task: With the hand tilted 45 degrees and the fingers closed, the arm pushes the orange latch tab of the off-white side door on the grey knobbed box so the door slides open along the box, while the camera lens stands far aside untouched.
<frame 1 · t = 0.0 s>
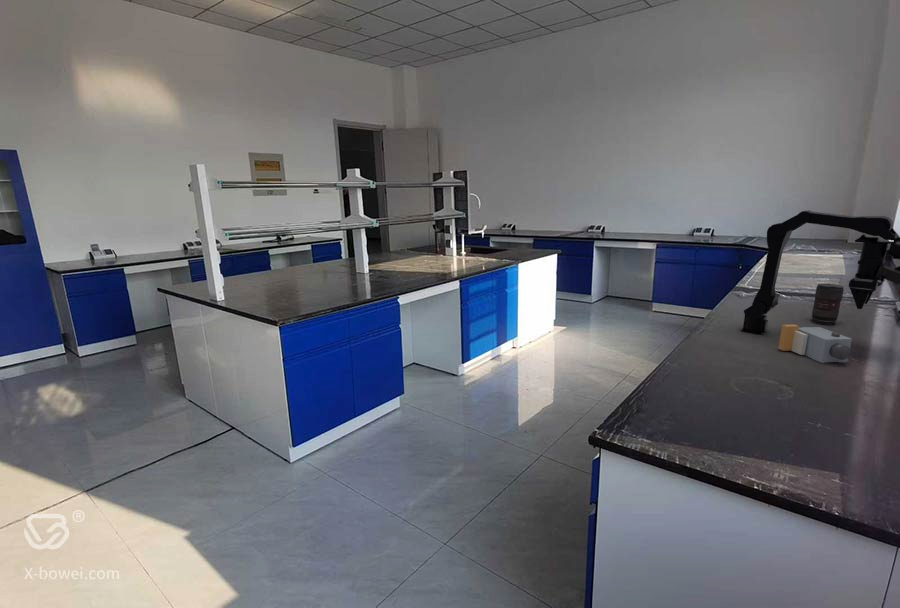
hand: (862, 306, 144), 15 cm above the table, tool pointing down, fingers open, 9 cm apart
camera lens: (823, 323, 176), on the table
grey knobbed box: (818, 355, 143), on the table
side door: (793, 339, 145), point 4 cm above the table, slide at 0.0 cm
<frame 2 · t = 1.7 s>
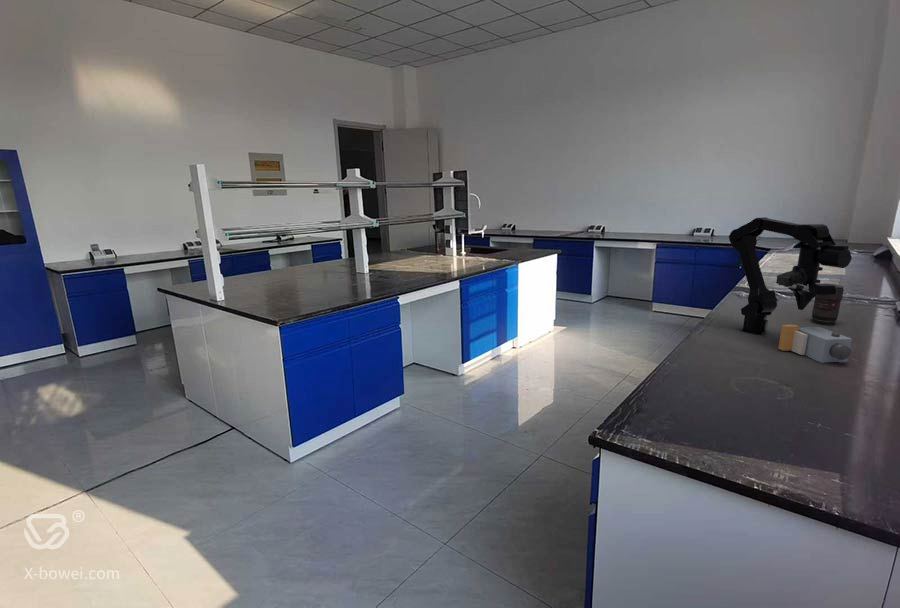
hand: (800, 309, 151), 12 cm above the table, tool pointing down, fingers closed
nothing on the table moved.
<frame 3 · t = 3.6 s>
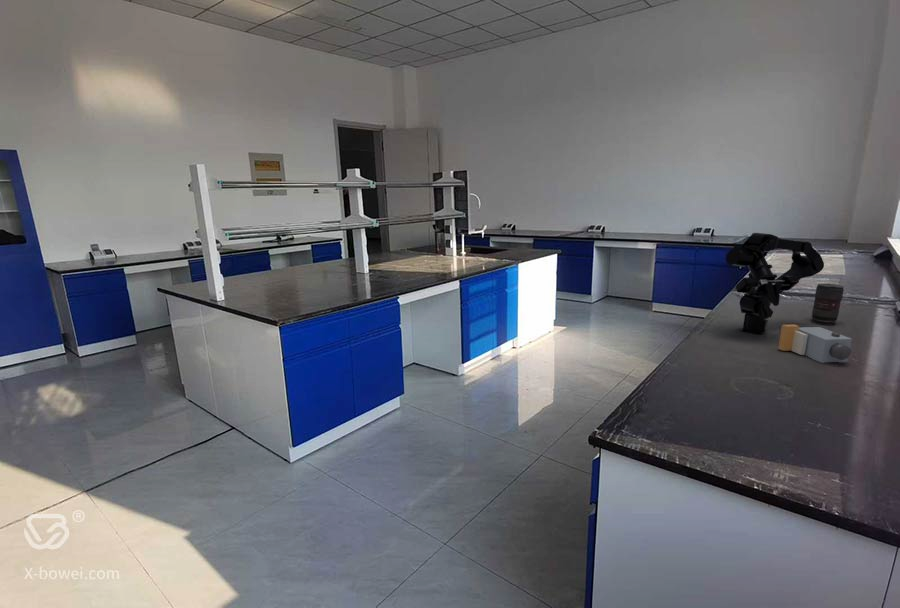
hand: (776, 305, 152), 14 cm above the table, tool tilted 45°, fingers closed
nothing on the table moved.
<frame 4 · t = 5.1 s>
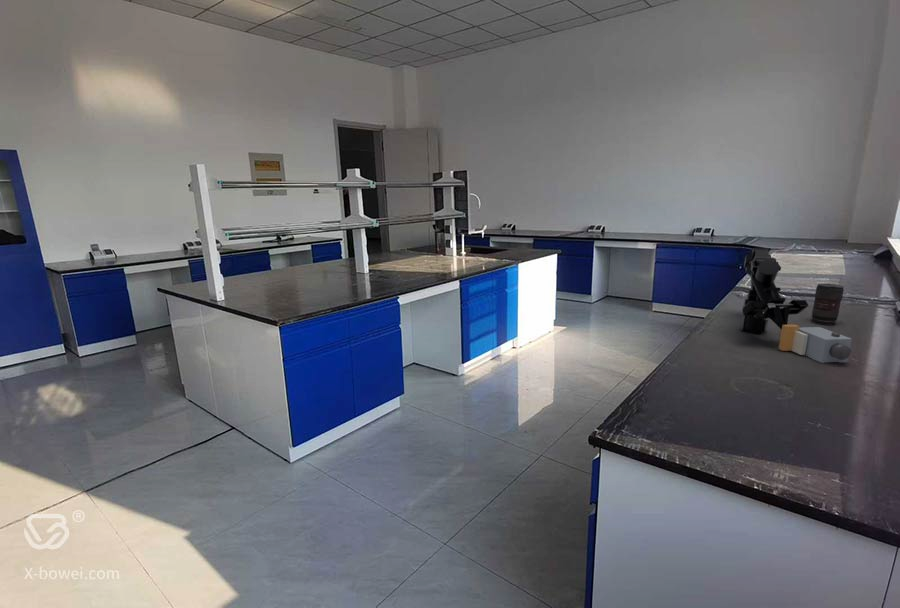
hand: (784, 330, 148), 7 cm above the table, tool tilted 45°, fingers closed, pressing on side door
side door: (793, 339, 145), point 4 cm above the table, slide at 0.1 cm, touching gripper
everything else where it was.
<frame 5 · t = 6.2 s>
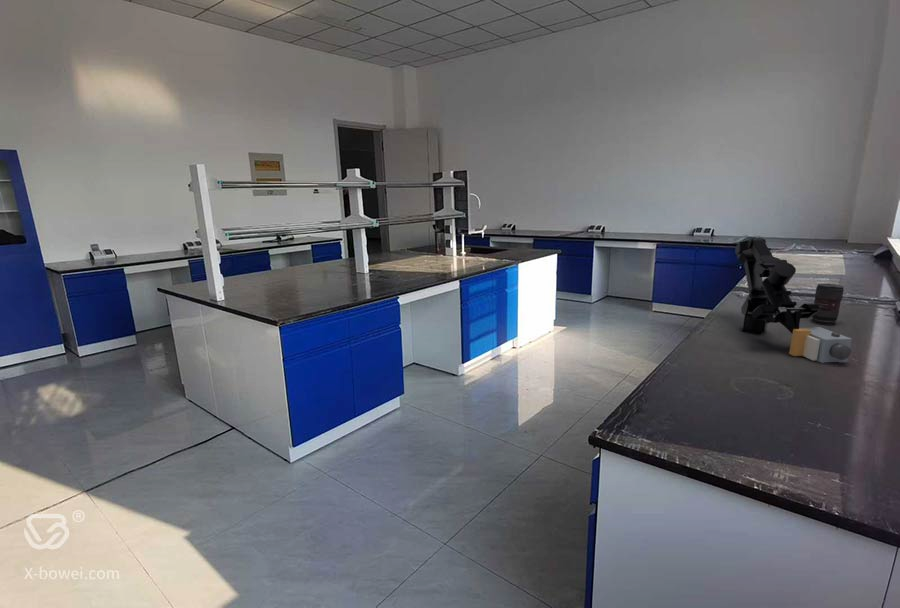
hand: (796, 334, 143), 7 cm above the table, tool tilted 45°, fingers closed, pressing on side door
side door: (804, 344, 141), point 5 cm above the table, slide at 4.8 cm, touching gripper
everything else where it was.
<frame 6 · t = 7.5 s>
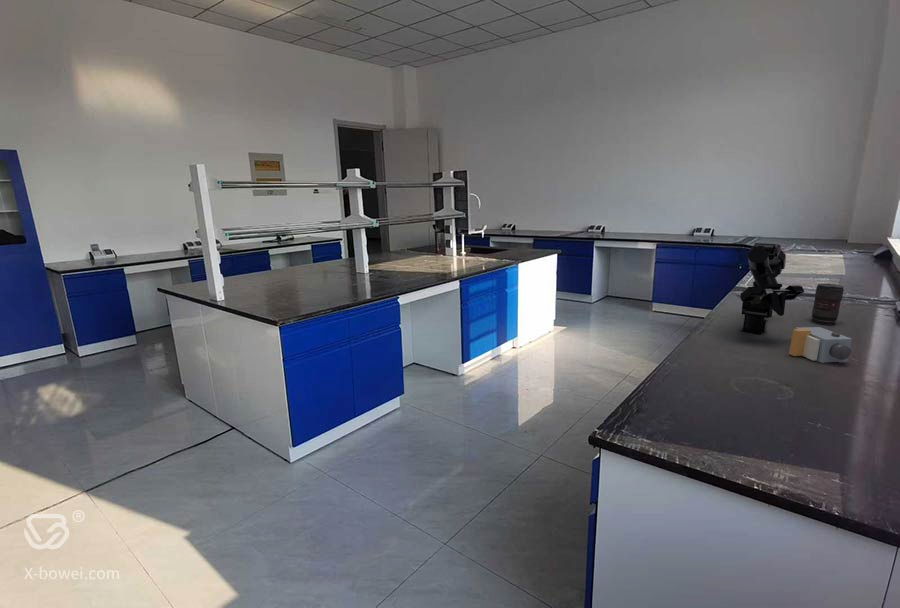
hand: (781, 315, 149), 11 cm above the table, tool tilted 45°, fingers closed
side door: (804, 344, 141), point 5 cm above the table, slide at 4.8 cm
everything else where it was.
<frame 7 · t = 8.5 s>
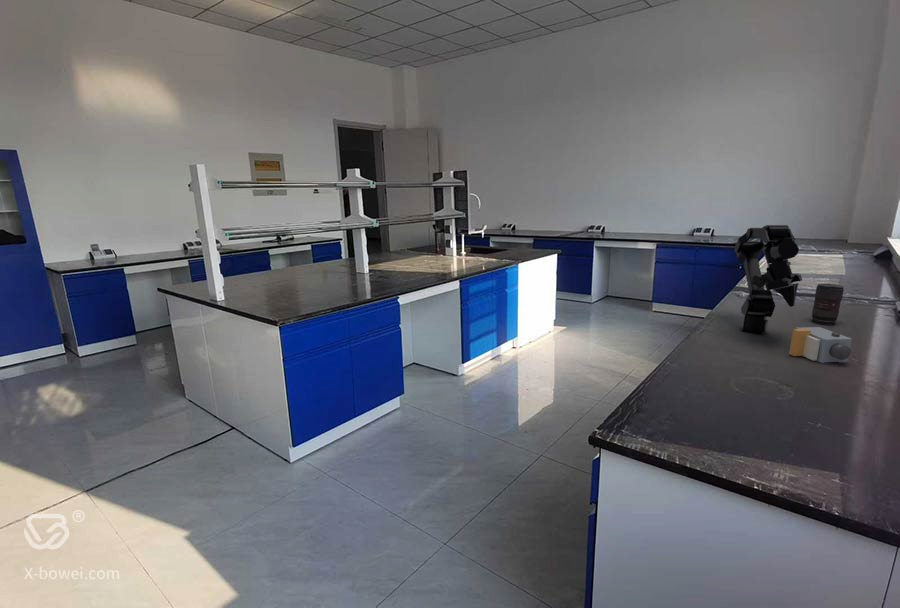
hand: (792, 306, 152), 13 cm above the table, tool tilted 25°, fingers closed
nothing on the table moved.
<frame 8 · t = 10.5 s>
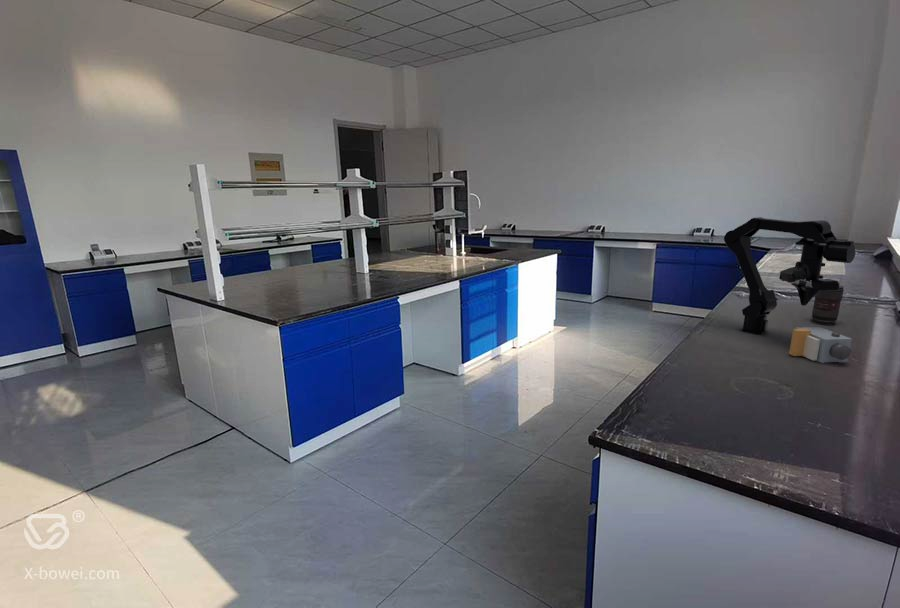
hand: (803, 305, 153), 13 cm above the table, tool pointing down, fingers closed
nothing on the table moved.
at the end: side door slide at 4.8 cm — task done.
